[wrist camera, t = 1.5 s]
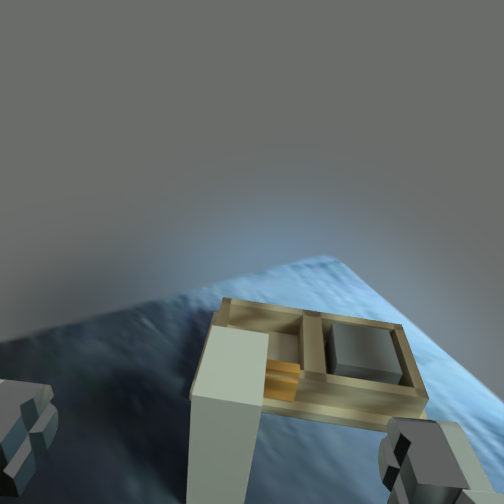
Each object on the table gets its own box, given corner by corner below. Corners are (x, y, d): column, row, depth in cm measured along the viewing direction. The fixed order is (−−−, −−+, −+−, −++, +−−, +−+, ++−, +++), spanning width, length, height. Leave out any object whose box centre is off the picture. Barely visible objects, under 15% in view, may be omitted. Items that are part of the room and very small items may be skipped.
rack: (189, 400, 35) (190, 364, 33) (213, 317, 46) (216, 286, 43) (428, 439, 34) (447, 405, 32) (397, 346, 45) (410, 316, 43)
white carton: (185, 508, 27) (190, 394, 21) (203, 433, 32) (211, 325, 27) (241, 517, 27) (262, 406, 21) (250, 440, 32) (269, 334, 26)
